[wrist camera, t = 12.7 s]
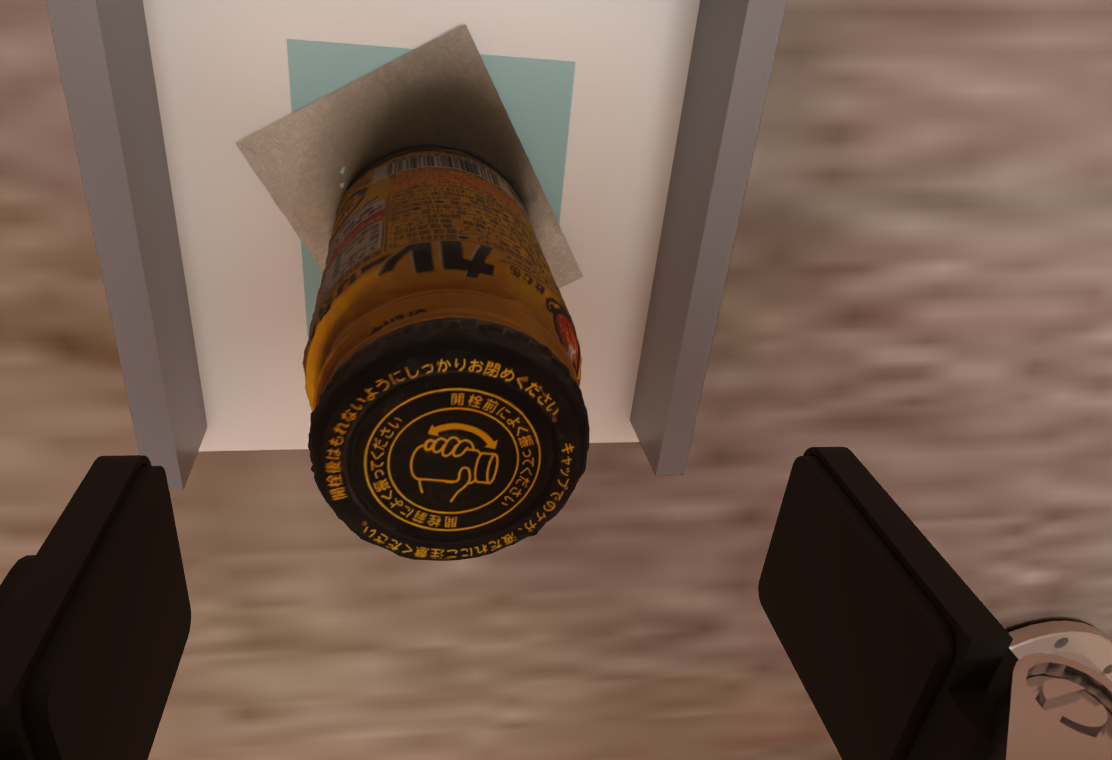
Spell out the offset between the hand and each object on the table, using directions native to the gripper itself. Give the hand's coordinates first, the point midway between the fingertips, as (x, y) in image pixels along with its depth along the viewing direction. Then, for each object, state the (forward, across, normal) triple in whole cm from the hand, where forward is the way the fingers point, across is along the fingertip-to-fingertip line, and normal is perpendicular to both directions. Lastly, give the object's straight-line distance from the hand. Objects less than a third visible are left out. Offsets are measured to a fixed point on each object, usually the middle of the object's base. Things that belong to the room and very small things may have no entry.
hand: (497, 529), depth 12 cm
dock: (+17, +1, -1) cm, 17 cm away
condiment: (+15, +1, 0) cm, 15 cm away
